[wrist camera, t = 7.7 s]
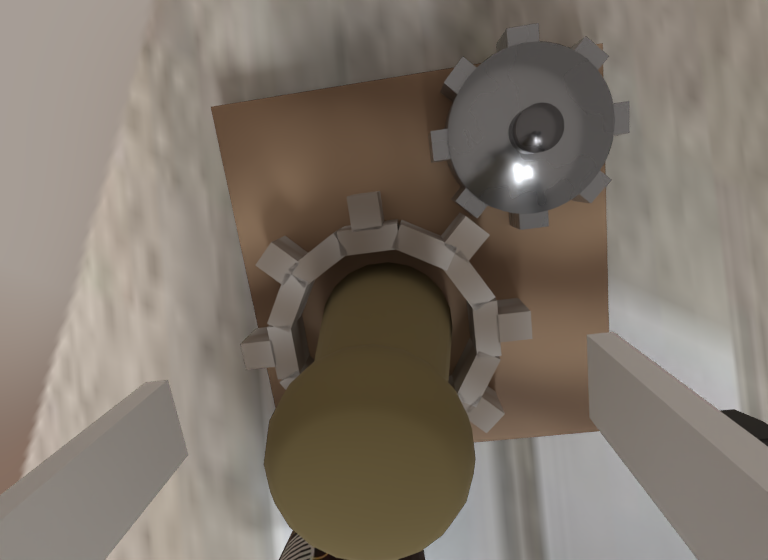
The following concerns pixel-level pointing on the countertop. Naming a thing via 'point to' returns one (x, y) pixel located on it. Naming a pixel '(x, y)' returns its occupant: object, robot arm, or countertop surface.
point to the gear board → (396, 156)
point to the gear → (529, 127)
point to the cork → (374, 423)
